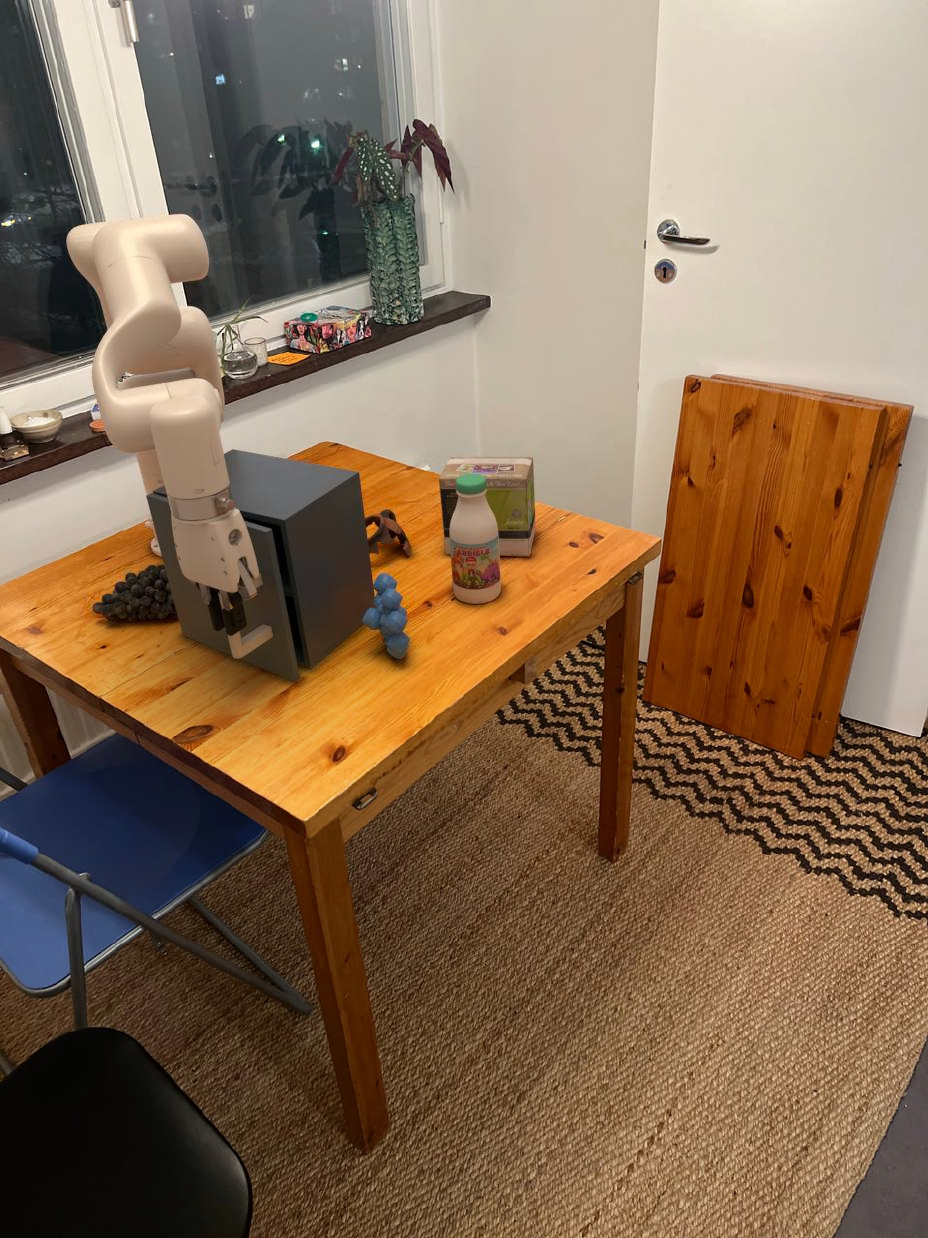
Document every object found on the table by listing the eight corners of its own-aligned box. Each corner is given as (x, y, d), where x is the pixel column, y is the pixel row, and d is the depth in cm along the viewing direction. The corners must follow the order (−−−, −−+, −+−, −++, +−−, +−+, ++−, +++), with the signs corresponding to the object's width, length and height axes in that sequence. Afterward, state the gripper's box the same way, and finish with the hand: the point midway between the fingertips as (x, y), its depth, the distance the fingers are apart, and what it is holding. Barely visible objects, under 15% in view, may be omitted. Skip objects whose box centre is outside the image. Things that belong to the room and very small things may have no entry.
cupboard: (311, 670, 132) (284, 519, 119) (188, 632, 142) (152, 491, 130) (377, 613, 144) (359, 471, 131) (259, 582, 155) (232, 448, 142)
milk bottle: (451, 583, 151) (443, 470, 140) (498, 579, 151) (493, 466, 140) (455, 607, 144) (446, 491, 134) (503, 602, 145) (499, 486, 134)
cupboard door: (261, 706, 125) (228, 553, 112) (148, 656, 137) (106, 513, 124) (300, 678, 130) (272, 529, 117) (187, 632, 142) (151, 492, 129)
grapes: (359, 634, 139) (349, 565, 133) (402, 626, 140) (394, 557, 134) (374, 676, 129) (364, 604, 123) (420, 666, 131) (413, 594, 124)
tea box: (536, 532, 165) (534, 455, 157) (529, 558, 156) (528, 478, 148) (454, 529, 167) (449, 453, 159) (443, 555, 159) (437, 477, 151)
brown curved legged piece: (413, 567, 157) (385, 536, 152) (368, 585, 161) (340, 555, 156) (419, 521, 165) (393, 490, 160) (376, 539, 169) (350, 509, 164)
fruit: (77, 580, 140) (177, 564, 141) (90, 571, 148) (185, 556, 149) (91, 634, 142) (189, 618, 143) (103, 622, 150) (196, 607, 151)
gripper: (270, 501, 110) (294, 629, 120) (180, 478, 118) (210, 601, 127) (224, 525, 105) (253, 658, 114) (134, 500, 112) (168, 627, 122)
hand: (230, 627), depth 121 cm, fingers closed on cupboard door
